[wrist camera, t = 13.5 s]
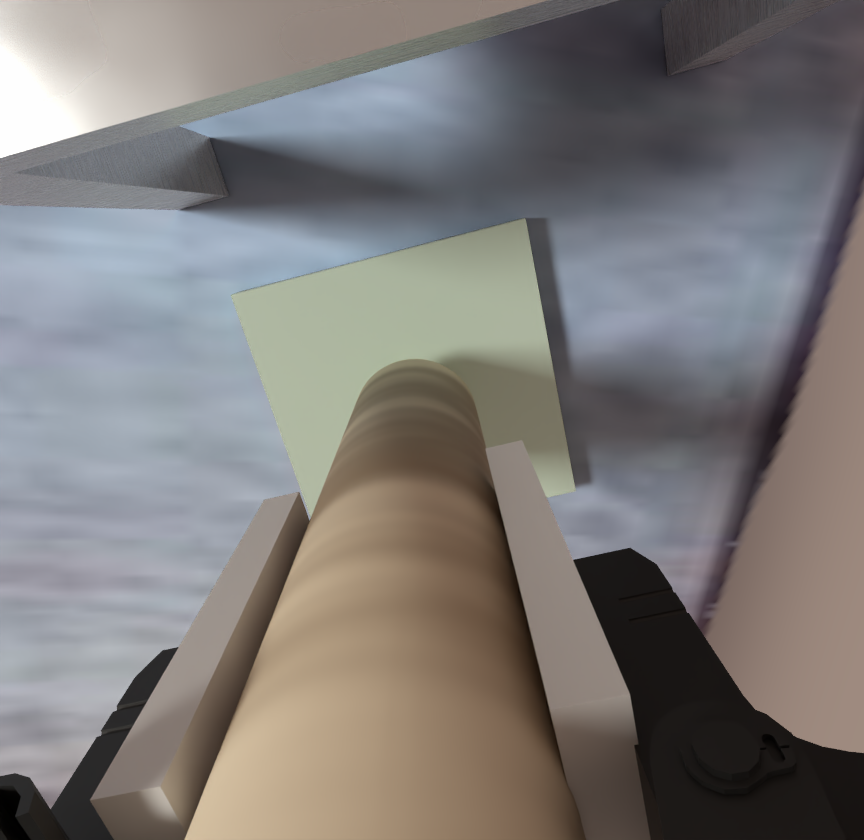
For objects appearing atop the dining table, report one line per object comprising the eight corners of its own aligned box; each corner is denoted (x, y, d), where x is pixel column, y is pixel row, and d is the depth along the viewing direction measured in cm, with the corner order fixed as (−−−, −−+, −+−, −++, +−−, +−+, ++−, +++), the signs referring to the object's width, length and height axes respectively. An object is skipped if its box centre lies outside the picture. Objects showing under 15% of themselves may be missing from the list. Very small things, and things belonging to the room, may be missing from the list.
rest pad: (238, 292, 20) (230, 295, 19) (521, 218, 19) (525, 218, 18) (325, 537, 23) (321, 547, 22) (570, 481, 22) (575, 491, 22)
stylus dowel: (339, 375, 18) (-679, 2169, 1) (461, 345, 18) (936, 2145, 1) (374, 485, 20) (42, 2119, 3) (487, 458, 19) (903, 2115, 2)
